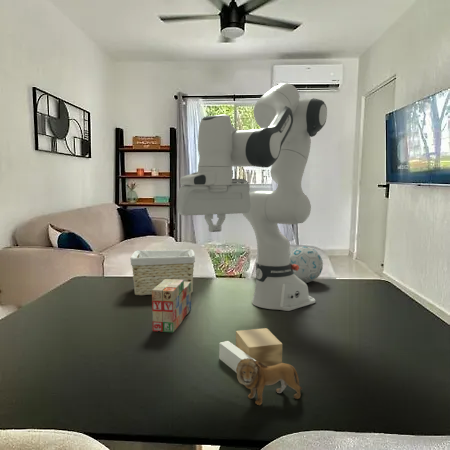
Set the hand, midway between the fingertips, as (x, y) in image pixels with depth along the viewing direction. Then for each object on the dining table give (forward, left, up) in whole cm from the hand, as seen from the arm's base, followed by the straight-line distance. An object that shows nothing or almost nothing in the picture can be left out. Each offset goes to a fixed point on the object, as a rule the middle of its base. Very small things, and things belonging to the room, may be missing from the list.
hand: (215, 231), depth 105 cm
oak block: (-3, +17, -29) cm, 34 cm away
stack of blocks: (+4, -20, -30) cm, 36 cm away
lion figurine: (+5, +32, -29) cm, 44 cm away
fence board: (+3, +18, -29) cm, 34 cm away
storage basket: (-5, -52, -30) cm, 60 cm away
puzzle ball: (-61, -36, -29) cm, 77 cm away
